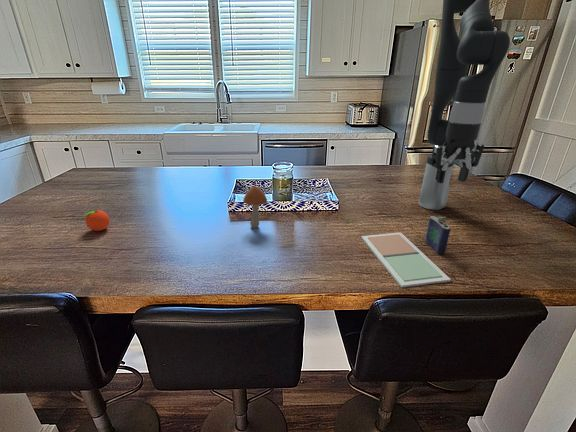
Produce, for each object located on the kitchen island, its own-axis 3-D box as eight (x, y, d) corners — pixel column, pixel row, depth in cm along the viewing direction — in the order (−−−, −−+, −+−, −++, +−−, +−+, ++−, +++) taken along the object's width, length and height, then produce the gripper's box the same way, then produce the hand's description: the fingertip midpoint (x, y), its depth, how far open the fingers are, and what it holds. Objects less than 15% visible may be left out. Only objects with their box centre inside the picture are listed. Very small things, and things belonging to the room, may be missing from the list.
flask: (422, 240, 102) (429, 210, 97) (430, 240, 102) (438, 210, 98) (438, 256, 94) (446, 224, 89) (447, 255, 94) (456, 223, 90)
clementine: (84, 237, 103) (78, 217, 100) (85, 228, 109) (79, 209, 106) (111, 231, 106) (106, 212, 103) (111, 223, 112) (106, 205, 109)
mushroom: (271, 223, 113) (270, 183, 106) (262, 233, 106) (260, 191, 99) (250, 220, 115) (248, 180, 108) (240, 229, 108) (238, 188, 102)
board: (400, 234, 106) (401, 231, 106) (450, 281, 83) (451, 278, 82) (361, 237, 104) (361, 235, 103) (401, 287, 81) (401, 284, 80)
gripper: (479, 117, 86) (464, 176, 93) (431, 118, 84) (419, 179, 91) (500, 122, 79) (482, 184, 87) (449, 123, 77) (435, 188, 84)
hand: (450, 181), depth 89 cm, fingers open, 6 cm apart
